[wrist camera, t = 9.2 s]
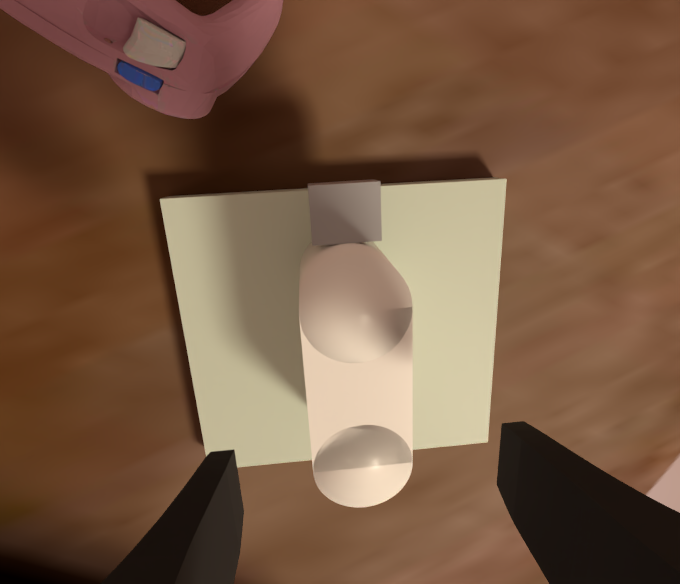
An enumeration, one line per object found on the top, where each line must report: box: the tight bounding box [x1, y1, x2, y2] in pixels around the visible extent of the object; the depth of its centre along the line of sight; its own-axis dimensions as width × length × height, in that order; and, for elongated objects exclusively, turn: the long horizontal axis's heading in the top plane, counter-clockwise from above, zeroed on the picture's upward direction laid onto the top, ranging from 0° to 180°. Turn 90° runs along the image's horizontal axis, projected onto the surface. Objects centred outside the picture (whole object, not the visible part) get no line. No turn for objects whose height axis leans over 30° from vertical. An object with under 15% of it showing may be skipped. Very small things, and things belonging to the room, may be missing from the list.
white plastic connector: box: [299, 179, 413, 507], centre depth 16 cm, size 12×4×5 cm, turn 3°
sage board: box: [160, 177, 507, 467], centre depth 20 cm, size 13×14×1 cm
